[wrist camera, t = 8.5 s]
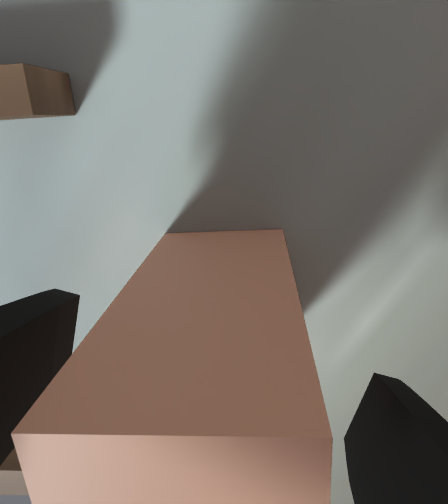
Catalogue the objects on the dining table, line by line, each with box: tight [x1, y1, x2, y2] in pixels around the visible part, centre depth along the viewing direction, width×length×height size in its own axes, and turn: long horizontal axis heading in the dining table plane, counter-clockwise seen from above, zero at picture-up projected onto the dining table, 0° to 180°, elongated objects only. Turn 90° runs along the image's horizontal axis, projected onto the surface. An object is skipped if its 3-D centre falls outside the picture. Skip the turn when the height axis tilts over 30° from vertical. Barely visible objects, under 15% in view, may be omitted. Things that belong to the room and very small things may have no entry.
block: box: [11, 229, 333, 504], centre depth 10 cm, size 4×4×9 cm
